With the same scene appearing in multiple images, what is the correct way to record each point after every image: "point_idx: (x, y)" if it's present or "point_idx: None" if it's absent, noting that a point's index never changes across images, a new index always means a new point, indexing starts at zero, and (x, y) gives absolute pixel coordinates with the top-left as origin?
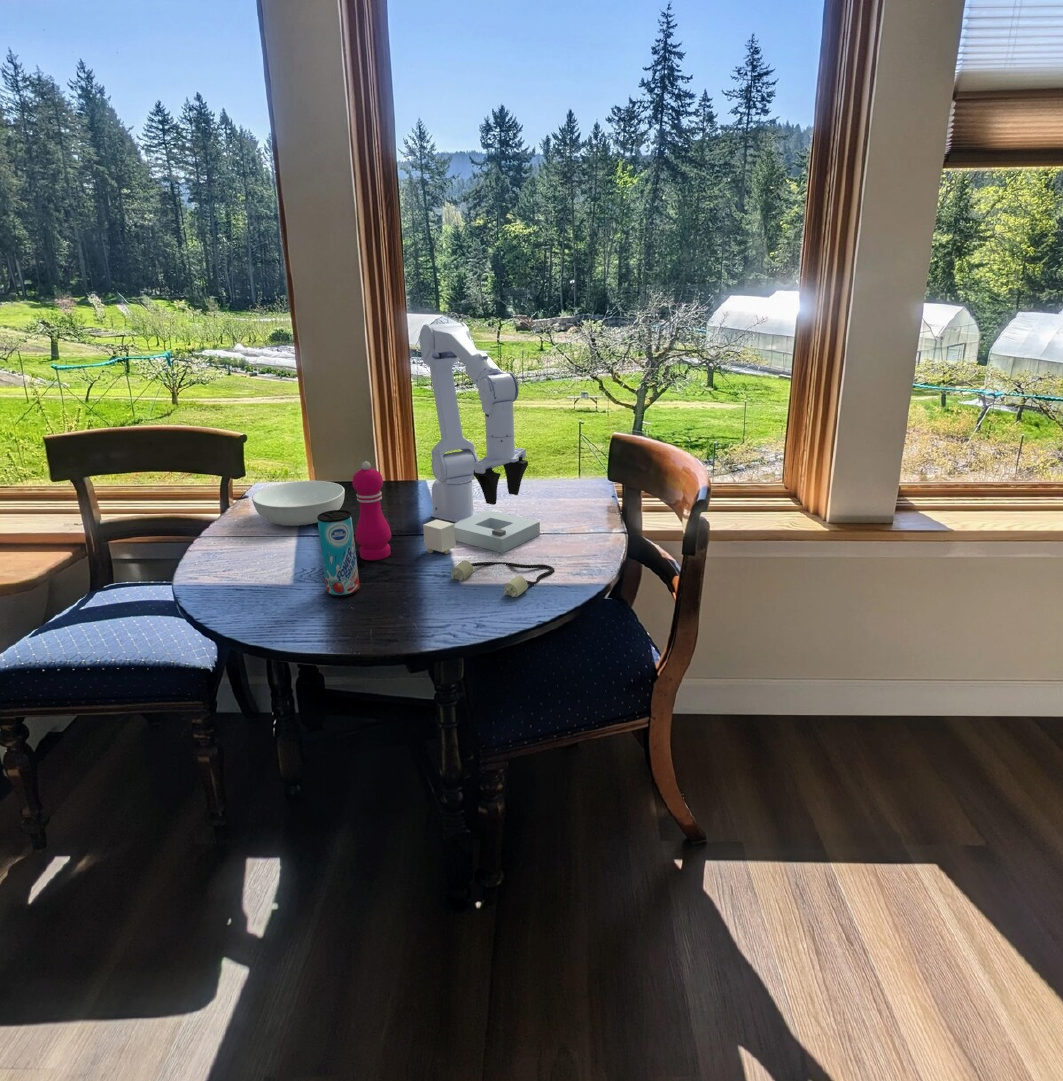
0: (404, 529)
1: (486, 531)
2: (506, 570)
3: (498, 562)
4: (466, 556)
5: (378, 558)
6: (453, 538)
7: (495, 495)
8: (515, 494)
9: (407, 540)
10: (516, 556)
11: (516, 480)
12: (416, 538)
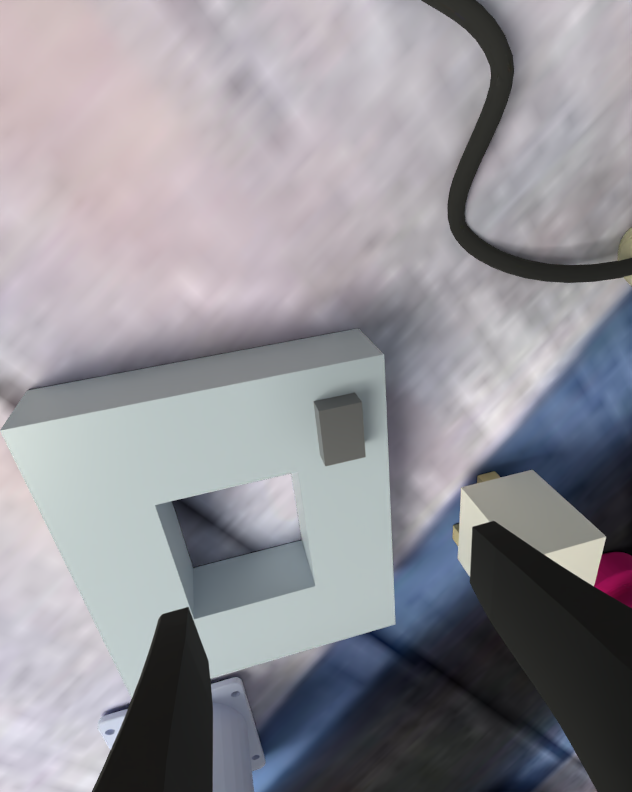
0: (396, 704)
1: (348, 490)
2: (519, 135)
3: (474, 239)
4: (474, 405)
5: (627, 555)
6: (491, 509)
7: (544, 570)
8: (190, 618)
9: (461, 632)
10: (351, 240)
11: (177, 765)
12: (433, 632)
